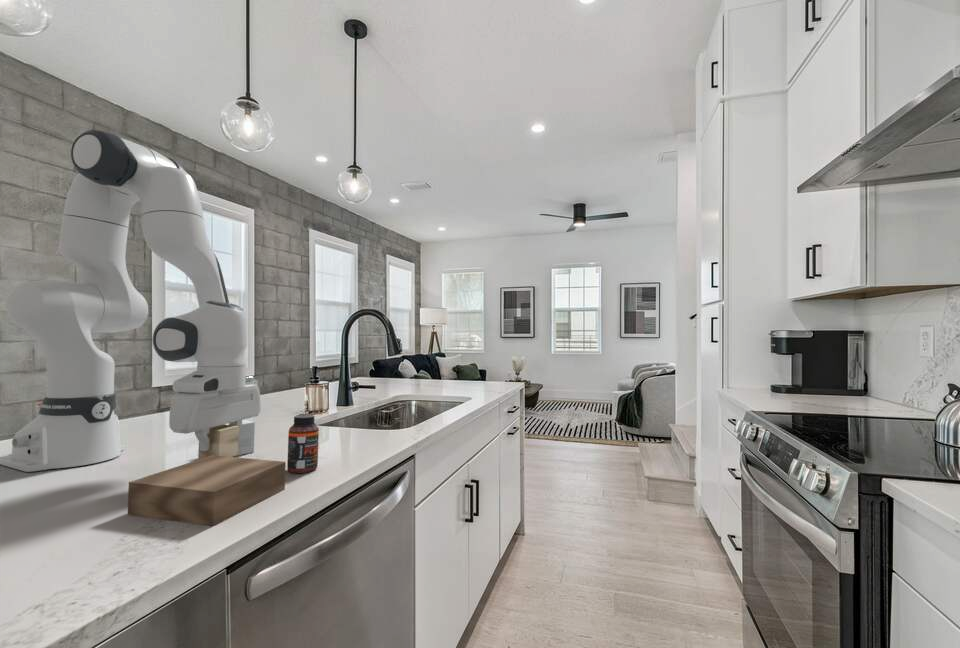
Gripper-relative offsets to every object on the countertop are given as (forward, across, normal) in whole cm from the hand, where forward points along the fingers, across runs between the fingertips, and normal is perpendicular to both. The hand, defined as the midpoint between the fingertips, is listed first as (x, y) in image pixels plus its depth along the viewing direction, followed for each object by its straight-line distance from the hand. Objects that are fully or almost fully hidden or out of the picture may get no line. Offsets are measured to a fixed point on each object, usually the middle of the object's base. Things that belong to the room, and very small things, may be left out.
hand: (218, 446), depth 91 cm
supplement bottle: (+5, -5, +16) cm, 18 cm away
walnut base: (+5, +14, +12) cm, 19 cm away
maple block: (+2, 0, 0) cm, 2 cm away
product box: (+5, -12, -6) cm, 15 cm away
